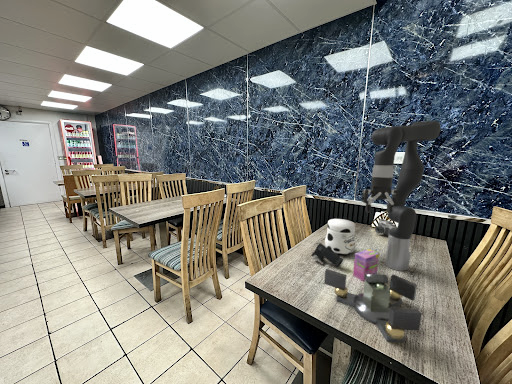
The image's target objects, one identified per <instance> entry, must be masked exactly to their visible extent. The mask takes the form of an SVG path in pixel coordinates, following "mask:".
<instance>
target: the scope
mask: <svg viewBox="0 0 512 384" xmlns="http://www.w3.org/2000/svg"><path fill="white" fill-rule="evenodd" d="M310 256H311V257H312V258H313V259H314V260H316V261H317V262H318V263H320V264H321V265H324V262H322V261H323V260H325V259H326V260H327V261H329V262H330V263H331V264H333V265H334V266H335V267H336V268H339V266H341V264H342V263H343V262H344V258H342V257H341V256H339V254H337V253H335V252H334V251H332V248H331V247H330V246H328V247H326V246H325V244H323V243H321V242H319V243H318V245H317V246H316V248H315V250H314V251H313V252H312V253H311V255H310Z"/></svg>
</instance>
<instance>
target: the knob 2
mask: <svg viewBox="0 0 512 384" xmlns="http://www.w3.org/2000/svg"><path fill="white" fill-rule="evenodd" d="M421 321H422V312H421V311H420V310H419V309H418V308H402V307H395V308H391V309H390V316H389V321H387V322H386V328H385V331H386V333H387V334H388V335H389V336H391V337H392V338H394V339H397V340H402V339H403V338H404V337H405V331H418V332H419V331H420V327H421Z"/></svg>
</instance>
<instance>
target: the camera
mask: <svg viewBox="0 0 512 384" xmlns="http://www.w3.org/2000/svg"><path fill="white" fill-rule="evenodd" d="M391 228H397V227H396V225H395V224H394V223H393V222H392V221H391V220H386V219H384V218H380V219H379V221H378V225H376V226H375V228H374V230H375V233H376V234H384V235H386V236H387V237H389V230H390V229H391Z"/></svg>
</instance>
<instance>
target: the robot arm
mask: <svg viewBox="0 0 512 384" xmlns="http://www.w3.org/2000/svg"><path fill="white" fill-rule="evenodd" d="M441 127H442V126H441V123H440V122H439V121H437V120H424V121H414V122H412V123H411V125H409V124H407V125H406V124H405V125H399V126H397V125H394V126H389V127H388V126H387V127H380V128H376V129H375V130H374V131H373V132H372V134H371V141H372V143H373V144H374V145H376V146H386V147H385V149H382V150H378V151H376V152H375V154H374V160H373V161H374V163H373V168H372V174H371V185H370V186H371V187H370V189H366V188H363V190H362V194H361V200H360V201H361V202H362V203H363V204H365V209H364V210H365V211H366V213H368V214H371V211H372V209H371V208H372V204H373V202H375V201H376V200H383V201H384V200H385V202H386V203H387V204H386V213H387V217H388V219H389V221H391V222H392V221H393V222H394V223H397V227H395V228H391V229H390V230H389V236H388V238H387V239H388V240H387V246H386V247H387V248H386V255H385V256H386V257H385V266H387V268H390V269H392V270H394V271H399V272H400V271H401V272H402V271H406V270H409V267H410V259H411V251H410V244H411V237H412V234H413V233H414V229H415V226H416V225H415V224H416V220H417V212H416V210H415V209H414V208H412V207H408V206H405V205H406V200H407V198H408V197H409V195H410V193H412V192H413V191H414V190H415V189H416V188H417V187H418V186H419V184H420V183H421V181H422V179H423V175H424V171H425V167H424V163H423V161H422V160H421V158H420V156H419V153H418V142H427V141H428V142H430V141H433V140H436V139H437V138H438V137H439V135H440V132H441ZM405 142H406V144H405V151H404V156H403V159H402V164H401V167H400V170H399V174H398V178H397V183H396V187H395V188H393V189H392V186H393V178H394V172H395V171H394V165H395V156H396V153H397V151H398V148H399V146H400V144H401V143H405ZM369 194H370V195H369ZM390 195H392V196H390Z"/></svg>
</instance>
